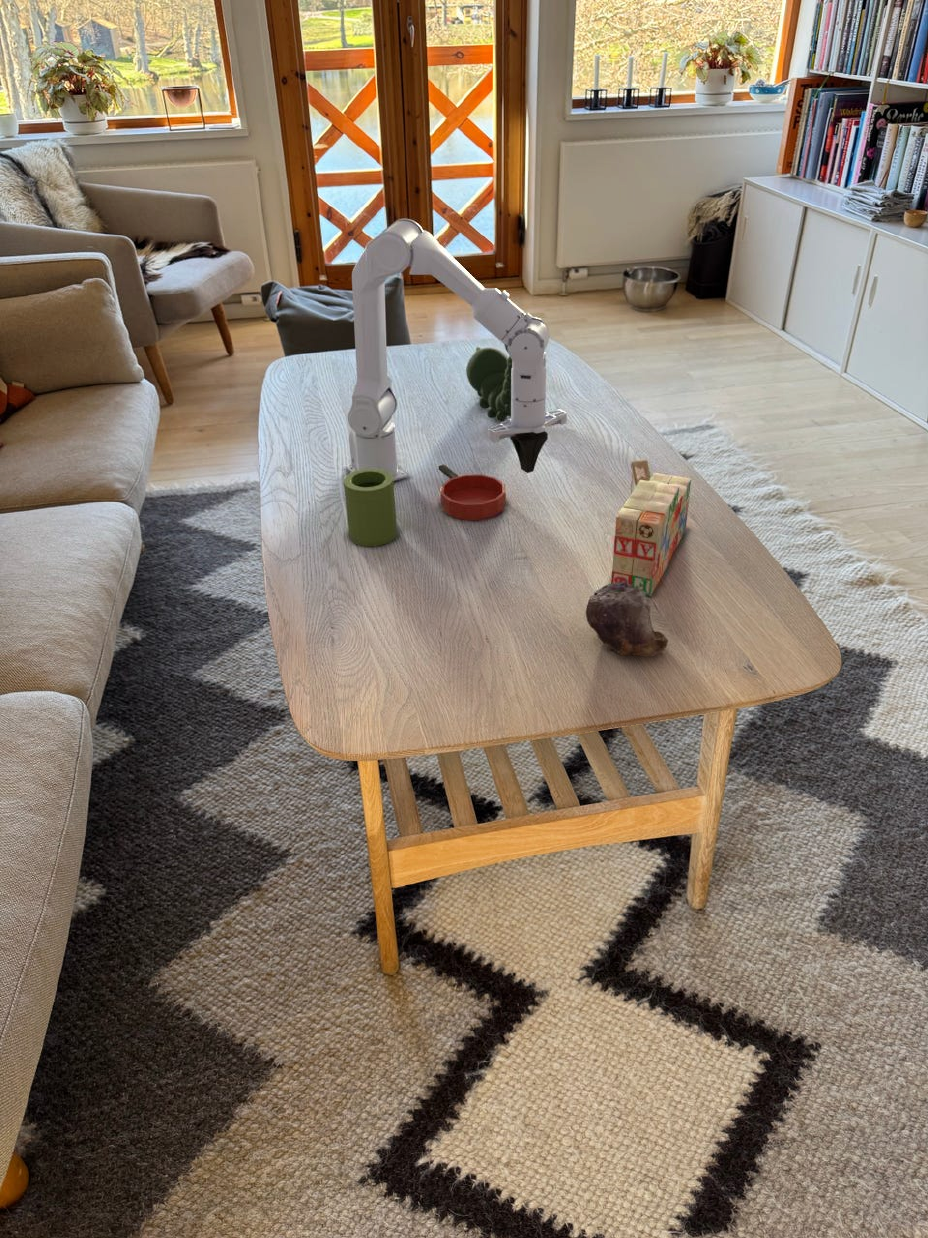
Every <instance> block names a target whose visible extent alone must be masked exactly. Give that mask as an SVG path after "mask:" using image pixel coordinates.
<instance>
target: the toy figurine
mask: <svg viewBox="0 0 928 1238" xmlns="http://www.w3.org/2000/svg"><path fill="white" fill-rule="evenodd" d="M503 345H504V349H505V351H506V352H507V353H508V349H507V347H508V346H507V345H505V344H503ZM511 370H512V359H511V357H510V356H509V355H508V356H507V355H506V354H505V353H504V352H503V351H502V350H501V349H498V348H495V347H491V346H490V347H489V346H488V347H483V348H481V347H479V346H477V347H476V348H475V352H474V353H473V354H472V355H471V356H470V358H469V360H468V362H467V364H466V366H465V373H466V378H467V381H468V383H469V385H470V386H471V387H472V389H474V390H475V391H476V393H477V395H478V397H479V400H478V405H479V407H480V408H481V409H484V410H485V409H486V410H487V413H486V415H487V417H488V418H490V419H494V418H496V421H499V422H504V421H506V420H507V418H508V417H511Z"/></svg>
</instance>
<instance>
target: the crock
mask: <svg viewBox="0 0 928 1238" xmlns="http://www.w3.org/2000/svg"><path fill="white" fill-rule="evenodd" d="M394 483H395V481H393V475H392V474H390V473H389V472H388V471H385V470H382V469H375V468H369V469H360V470H357V471H353V472H349V473H348V474H346V475H345V477H344V478H343V489H344V499H345V500H344V501H345V509H346V519H347V526H348V527H347V528H348V536H349V539H350V541H351V542H352V543H354V544H356V545H359V546H363V547H379V546H383V545H386V544H389V543H391V542H392V541H394V540H395V539H396V537H397V535H398V523H397V511H396V510H397V509H396V497H395V484H394Z"/></svg>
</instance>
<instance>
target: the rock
mask: <svg viewBox="0 0 928 1238" xmlns="http://www.w3.org/2000/svg"><path fill="white" fill-rule="evenodd" d="M585 616H586V621H587V623H588V625H589V627H590V628H591V629H593V630H594V631H595V633H596V634H597V637H598V639H600V641H601V642H602V643H603V644H605V645H607V646H608V649H609V650H613V651H614V652H615V653H619V655H621V656H627V655H636V656H639V657H640V656H642V657H654V656H656V655H657V654H659V653H661V652H662V651H664V649H665V648H667V646H668V643H669V639H668V638H667V637H666V636H665V635H664V633H662V632H661V631H658V630H657V631H655V630H654V628H653V625H652V624H653V623H652V620H651V604H650V602H649V598H648V596H647V595H645V593H644V592H642V591H641V590H640V589H638V588H635V586H634V585H633V584H632V585H630V584H628V583H626V582H625V581H619V582H617V583H611V582H610V583H608V584H606V585H603V586H602V587H600V588H598V589H597V590H595V591H594V592H593V594H592V595H590V596H589V600H588V601H587V605H586V609H585Z"/></svg>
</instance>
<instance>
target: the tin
mask: <svg viewBox="0 0 928 1238" xmlns="http://www.w3.org/2000/svg"><path fill="white" fill-rule="evenodd" d="M648 461H649V460H648V459H643V460H641V459H640V460H633V461H631V465H630V468H631V484H630V495H631V494H632V493H633V491H634V490H635V487H636V486H637V484H638V482H639V481H640V480H644V481H649V480H650V478H651V476H652V474H651V471H650V466H649V462H648Z"/></svg>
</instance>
